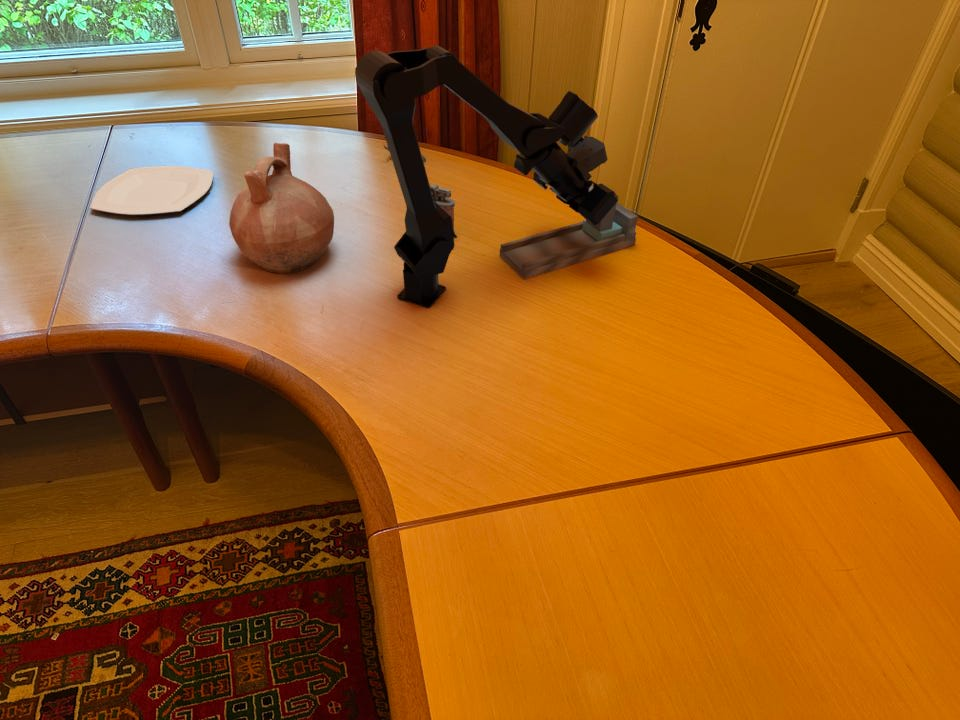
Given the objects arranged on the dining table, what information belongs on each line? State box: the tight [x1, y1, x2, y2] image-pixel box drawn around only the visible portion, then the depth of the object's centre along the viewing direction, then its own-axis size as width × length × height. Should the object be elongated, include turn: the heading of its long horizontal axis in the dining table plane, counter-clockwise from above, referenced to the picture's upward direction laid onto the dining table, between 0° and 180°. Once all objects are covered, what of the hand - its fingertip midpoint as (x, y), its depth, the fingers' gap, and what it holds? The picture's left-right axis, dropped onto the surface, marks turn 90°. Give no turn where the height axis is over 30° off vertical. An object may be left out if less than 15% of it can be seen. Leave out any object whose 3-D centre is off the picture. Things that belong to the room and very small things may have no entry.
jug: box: [228, 142, 335, 274], centre depth 108 cm, size 18×18×20 cm
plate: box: [89, 165, 214, 216], centre depth 132 cm, size 23×23×2 cm
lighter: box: [429, 183, 456, 234], centre depth 119 cm, size 8×3×10 cm, turn 62°
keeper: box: [582, 204, 622, 241], centre depth 117 cm, size 5×6×8 cm
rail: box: [498, 202, 639, 280], centre depth 116 cm, size 26×9×6 cm, turn 119°
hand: (594, 210), depth 115 cm, fingers closed, pressing on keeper
